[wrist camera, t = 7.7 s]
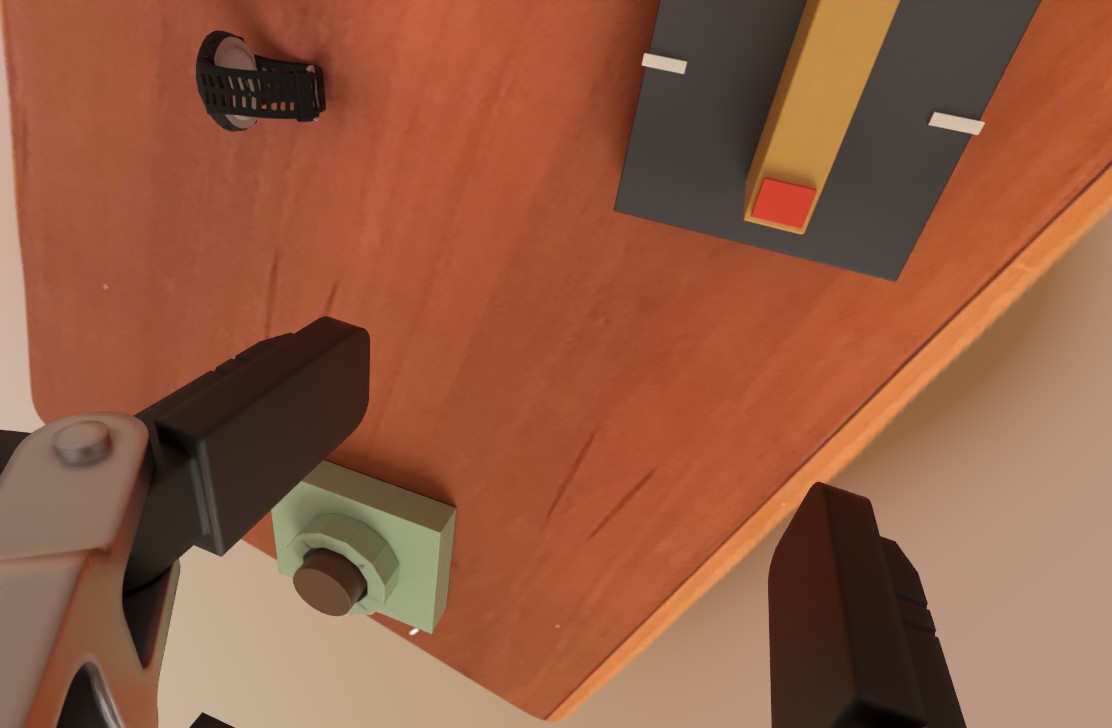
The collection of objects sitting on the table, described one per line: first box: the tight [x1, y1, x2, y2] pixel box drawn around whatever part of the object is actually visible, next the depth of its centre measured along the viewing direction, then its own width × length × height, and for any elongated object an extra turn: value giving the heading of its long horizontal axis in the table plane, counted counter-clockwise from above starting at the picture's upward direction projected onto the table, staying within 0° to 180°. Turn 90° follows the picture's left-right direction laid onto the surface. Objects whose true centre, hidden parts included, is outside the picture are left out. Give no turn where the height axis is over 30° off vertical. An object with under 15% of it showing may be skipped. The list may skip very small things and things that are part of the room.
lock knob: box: [743, 0, 900, 234], centre depth 15 cm, size 6×2×5 cm, turn 170°
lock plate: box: [614, 0, 1041, 282], centre depth 19 cm, size 10×10×3 cm
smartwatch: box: [196, 31, 326, 132], centre depth 23 cm, size 4×5×5 cm
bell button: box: [293, 548, 367, 616], centre depth 35 cm, size 4×4×2 cm
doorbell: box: [271, 460, 456, 634], centre depth 37 cm, size 12×10×4 cm
